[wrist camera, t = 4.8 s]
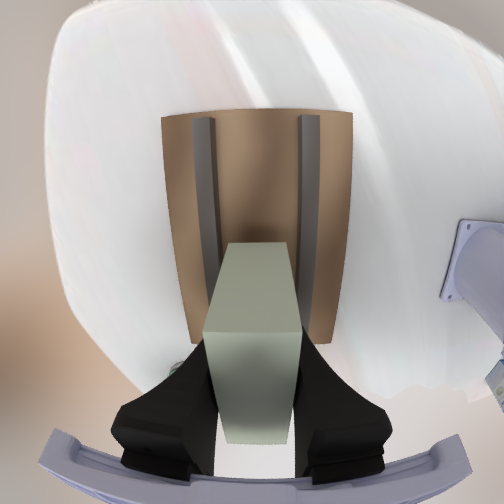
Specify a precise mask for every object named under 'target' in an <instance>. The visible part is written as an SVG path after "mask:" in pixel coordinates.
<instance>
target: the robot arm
mask: <svg viewBox="0 0 504 504" xmlns="http://www.w3.org/2000/svg"><path fill="white" fill-rule="evenodd" d="M467 225H468V227H467ZM440 298H441V300H442V301H444V302H445V301H453V300H460V299H466V300H467V301H468V302H469V304H470V305H471V306H472V307H473V308H474V309H475V310H476V311H477V312H478V314H479V315H480V316H481V317H482V318H483V319H484V321H485V322H486V323H487V324H488V325H489V326H490V328H491V329H492V330H493V331H494V333H495V334H496V335H497V336H498V338H499V339H500V340H501V341H502V343H503V344H504V223H498V222H487V221H475V220H462V221H461V222H460V224H459V229H458V233H457V238H456V243H455V247H454V251H453V255H452V259H451V263H450V267H449V270H448V274H447V277H446V281H445V284H444V287H443V290H442V294H441V297H440ZM301 326H302V341H301V349H300V358H299V365H298V373H297V381H296V388H295V395H294V401H293V410H294V426H295V478H285V479H243V478H226V477H215V476H214V457H215V441H216V429H217V420H218V412H219V410H218V405H217V401H216V397H215V392H214V388H213V383H212V378H211V374H210V369H209V364H208V359H207V354H206V349H205V343H204V338H203V339H202V340H201V341H200V343H199V344H198V345H197V347H196V348H195V349H194V351H193V352H192V353H191V354H190V355H189V356H188V358H187V359H186V360H185V361H184V362H183V363H182V364H181V365H180V366H179V367H178V368H177V369H176V370H175V371H174V372H173V373H172V374H171V375H170V376H169V377H167V378H166V379H165V380H164V381H163V382H161V383H160V384H159V385H157V386H156V387H155V388H153V389H152V390H150V391H149V392H147V393H146V394H144V395H143V396H141V397H139V398H137V399H135V400H133V401H131V402H129V403H127V404H125V405H123V406H121V408H120V410H119V411H118V413H117V415H116V417H115V420H114V422H113V425H112V427H111V433H112V435H113V437H114V438H115V439H116V440H117V441H118V443H119V444H120V445H121V446H122V447H123V448H124V452H123V455H122V458H119V457H116V456H113V455H110V454H107V453H104V452H101V451H98V450H95V449H93V448H90V447H87V446H85V445H82V444H81V443H80V442H79V440H78V439H76V438H75V437H74V436H72V435H70V434H68V433H66V432H63V431H61V430H59V429H57V428H55V429H54V430H53V432H52V434H51V436H50V438H49V440H48V442H47V444H46V446H45V449H44V451H43V453H42V455H41V457H40V459H39V461H38V464H39V465H40V466H41V467H43V468H44V469H45V470H47V471H48V472H49V473H51V474H52V475H54V476H55V477H56V478H58V479H59V480H61V481H62V482H64V483H65V484H67V485H70V486H71V487H73V488H75V489H77V490H79V491H81V492H84V493H86V494H88V495H90V496H93V497H95V498H97V499H99V500H101V501H104V502H106V503H109V504H417V503H419V502H422V501H424V500H427V499H429V498H431V497H434V496H436V495H438V494H440V493H442V492H444V491H446V490H448V489H449V488H451V487H453V486H454V485H456V484H457V483H459V482H460V481H462V480H463V479H465V478H466V477H467V476H469V475H470V474H472V472H473V471H472V468H471V466H470V463H469V460H468V457H467V455H466V452H465V449H464V447H463V445H462V442H461V439H460V437H459V435H458V434H456V435H453V436H451V437H448V438H446V439H443V440H441V441H439V442H437V443H436V444H435V445H433V446H432V447H431V448H430V450H428V451H426V452H423V453H420V454H417V455H414V456H411V457H408V458H404V459H401V460H397V461H394V462H390V463H386V464H384V460H383V456H382V455H383V454H384V448H383V445H384V443H385V442H386V440H387V439H388V438H389V437H390V435H391V434H392V425H391V422H390V420H389V418H388V416H387V414H386V412H385V410H383V409H382V408H380V407H378V406H377V405H375V404H373V403H371V402H370V401H368V400H366V399H365V398H364V397H362V396H361V395H360V394H358V393H357V392H356V391H355V390H353V389H352V388H351V387H350V386H349V385H347V384H346V383H345V382H344V381H343V380H342V379H341V378H340V377H339V376H338V375H337V374H336V373H335V372H334V371H333V370H332V368H331V367H330V366H329V365H328V364H327V362H326V361H325V360H324V359H323V357H322V356H321V355H320V353H319V352H318V350H317V349H316V347H315V346H314V344H313V343H312V341H311V339H310V338H309V336H308V334H307V332H306V330H305V328H304V326H303V325H302V324H301ZM501 354H502V355H503V357H504V348H503V350H502V352H501Z"/></svg>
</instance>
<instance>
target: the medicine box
mask: <svg viewBox="0 0 504 504" xmlns="http://www.w3.org/2000/svg"><path fill="white" fill-rule="evenodd" d="M485 380H486V382H487V384H488V385H489V387H490V389H491V391H492V392H493V394H494V396H495V398H496V399H497V401H498V403H499V405H500V407H501V409H502V411H503V412H504V360H501V361H499V362H498V363H497V365H496V366H495V367H494V368H493V369H492V371H491V372H490V373H489V374H488V376H487V377H486V378H485Z"/></svg>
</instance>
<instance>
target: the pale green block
mask: <svg viewBox="0 0 504 504" xmlns="http://www.w3.org/2000/svg"><path fill="white" fill-rule="evenodd" d="M202 333H203V338H204V343H205V349H206V354H207V359H208V364H209V369H210V374H211V378H212V383H213V388H214V392H215V397H216V401H217V405H218V410H219V414H220V418H221V422H222V426H223V430H224V434H225V438H226V442H227V443H229V444H257V445H258V444H259V445H266V444H267V445H270V444H271V445H272V444H286V443H287V437H288V432H289V426H290V420H291V414H292V408H293V401H294V395H295V388H296V381H297V373H298V365H299V358H300V349H301V341H302V326H301V320H300V315H299V309H298V303H297V298H296V292H295V286H294V281H293V276H292V270H291V265H290V260H289V255H288V250H287V244H286V242H267V243H228V246H227V249H226V253H225V256H224V259H223V262H222V266H221V269H220V273H219V276H218V279H217V283H216V286H215V289H214V293H213V296H212V300H211V303H210V307H209V310H208V314H207V317H206V321H205V324H204V328H203V331H202Z"/></svg>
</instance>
